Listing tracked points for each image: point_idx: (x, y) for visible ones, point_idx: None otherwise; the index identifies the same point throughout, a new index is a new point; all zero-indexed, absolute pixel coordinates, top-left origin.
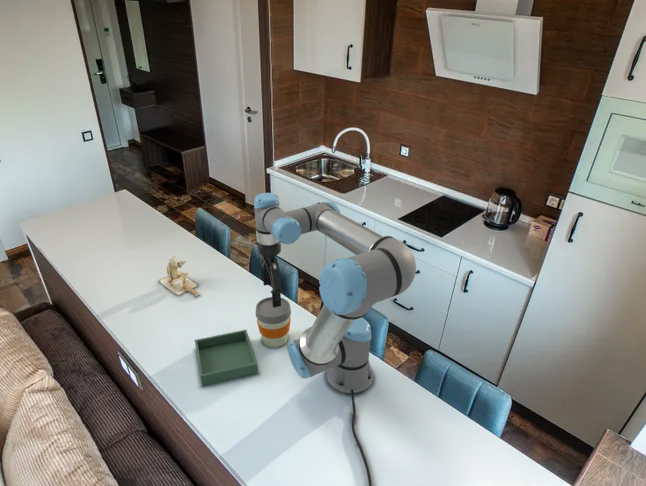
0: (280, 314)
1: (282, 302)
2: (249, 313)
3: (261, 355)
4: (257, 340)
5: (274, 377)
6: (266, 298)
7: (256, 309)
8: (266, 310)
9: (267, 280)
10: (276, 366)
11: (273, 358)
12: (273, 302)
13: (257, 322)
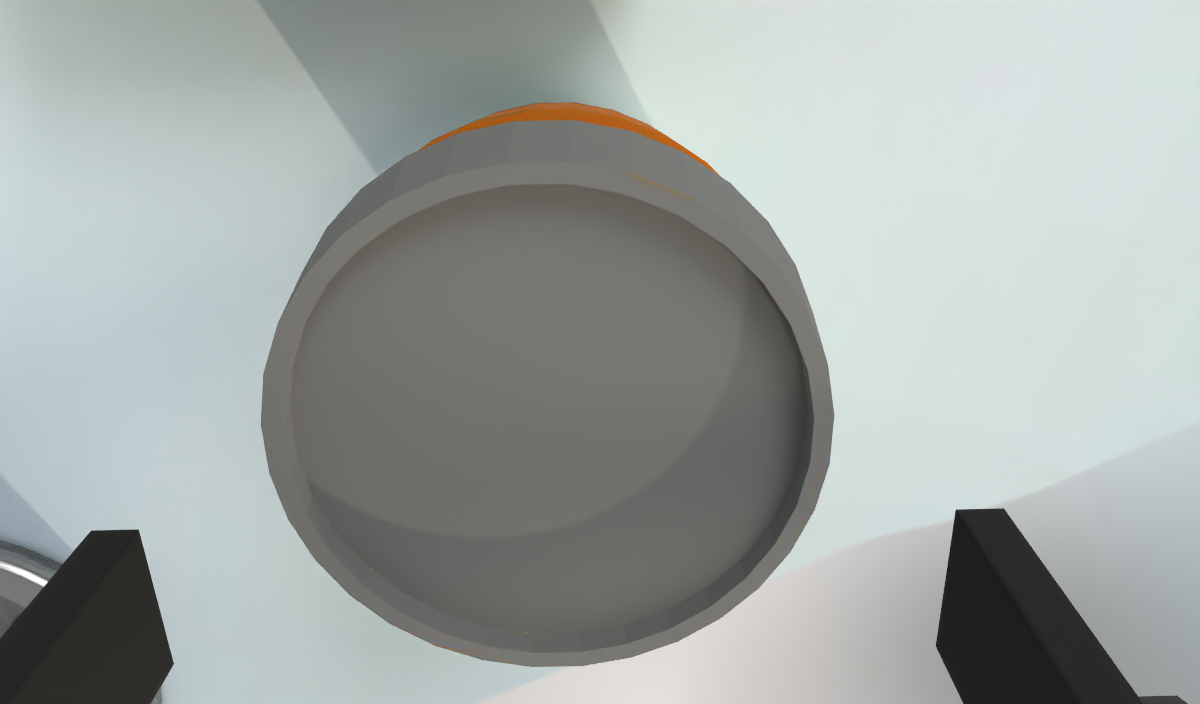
0: (360, 496)
1: (655, 577)
2: (1110, 49)
3: (347, 47)
4: (600, 51)
5: (5, 113)
6: (814, 391)
7: (546, 167)
8: (515, 322)
9: (991, 662)
10: (159, 165)
11: (280, 161)
12: (19, 630)
13: (550, 111)
